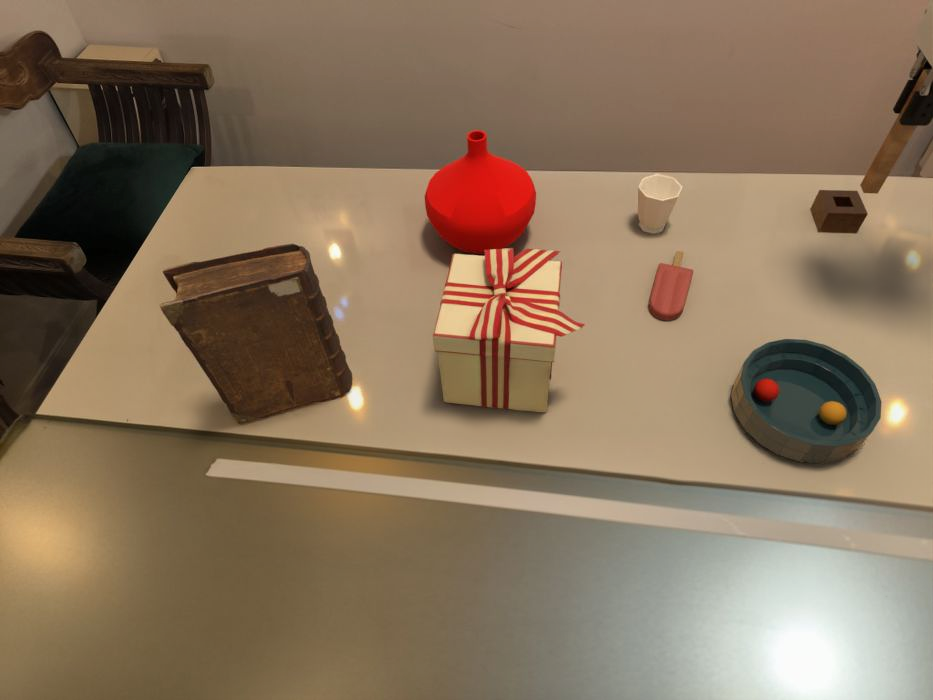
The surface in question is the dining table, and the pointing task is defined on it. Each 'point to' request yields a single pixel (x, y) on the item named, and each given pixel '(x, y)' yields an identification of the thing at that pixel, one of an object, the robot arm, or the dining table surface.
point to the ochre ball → (832, 413)
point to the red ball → (766, 390)
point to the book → (259, 330)
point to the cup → (656, 201)
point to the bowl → (806, 400)
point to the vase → (480, 199)
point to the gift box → (500, 328)
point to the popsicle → (670, 289)
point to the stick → (891, 148)
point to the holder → (838, 211)
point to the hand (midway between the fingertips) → (910, 117)
